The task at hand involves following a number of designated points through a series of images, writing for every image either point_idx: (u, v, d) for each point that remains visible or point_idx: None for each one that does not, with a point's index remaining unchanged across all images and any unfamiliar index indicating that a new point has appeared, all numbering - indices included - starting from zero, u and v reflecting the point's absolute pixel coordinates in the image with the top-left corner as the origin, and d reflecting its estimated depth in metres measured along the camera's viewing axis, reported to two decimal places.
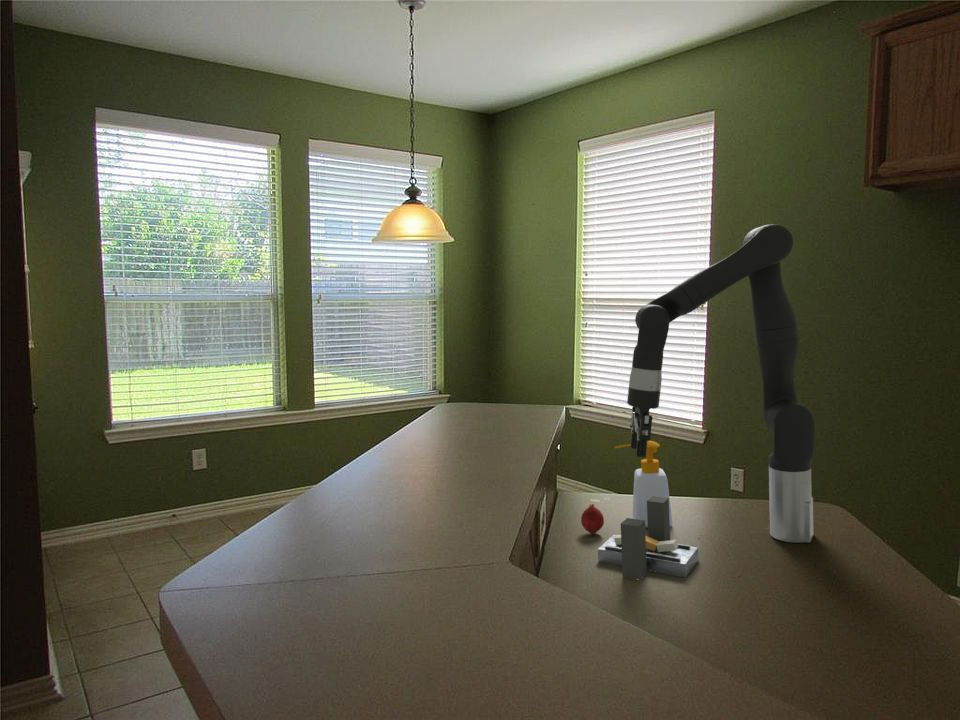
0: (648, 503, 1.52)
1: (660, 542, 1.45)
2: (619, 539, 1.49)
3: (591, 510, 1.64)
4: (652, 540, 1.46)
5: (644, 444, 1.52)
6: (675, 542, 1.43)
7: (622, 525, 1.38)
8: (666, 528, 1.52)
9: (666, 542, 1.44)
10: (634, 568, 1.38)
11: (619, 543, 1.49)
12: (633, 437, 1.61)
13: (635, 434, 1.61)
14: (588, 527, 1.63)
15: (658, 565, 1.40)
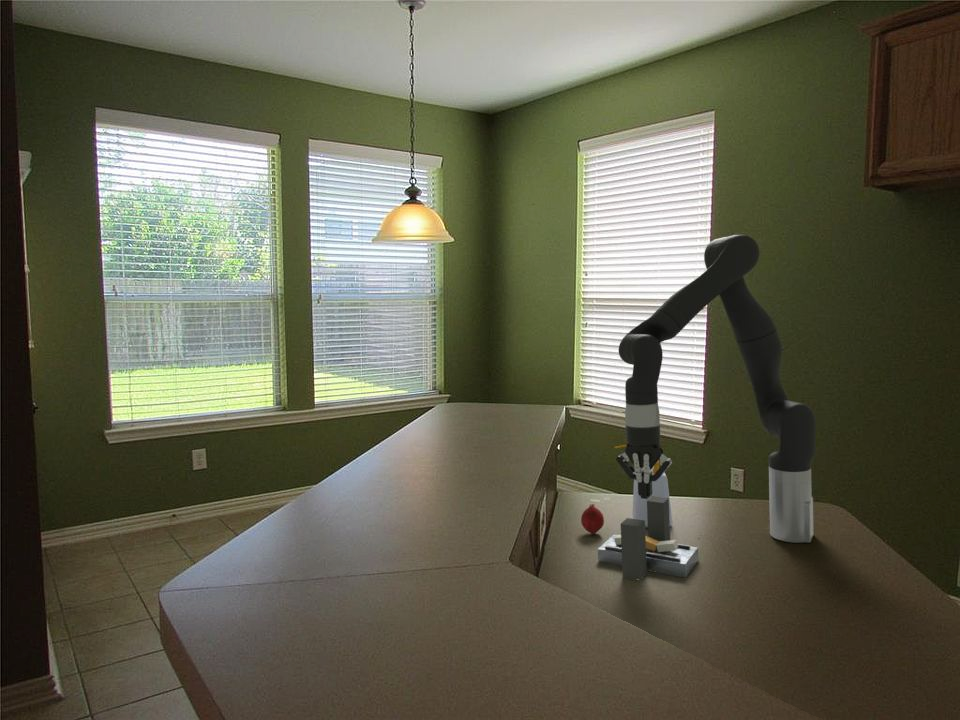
0: (648, 503, 1.52)
1: (660, 542, 1.45)
2: (619, 539, 1.49)
3: (591, 510, 1.64)
4: (652, 540, 1.46)
5: (651, 484, 1.45)
6: (675, 542, 1.43)
7: (622, 525, 1.38)
8: (666, 528, 1.52)
9: (666, 542, 1.44)
10: (634, 568, 1.38)
11: (619, 543, 1.49)
12: (643, 486, 1.45)
13: (644, 482, 1.45)
14: (588, 527, 1.63)
15: (658, 565, 1.40)
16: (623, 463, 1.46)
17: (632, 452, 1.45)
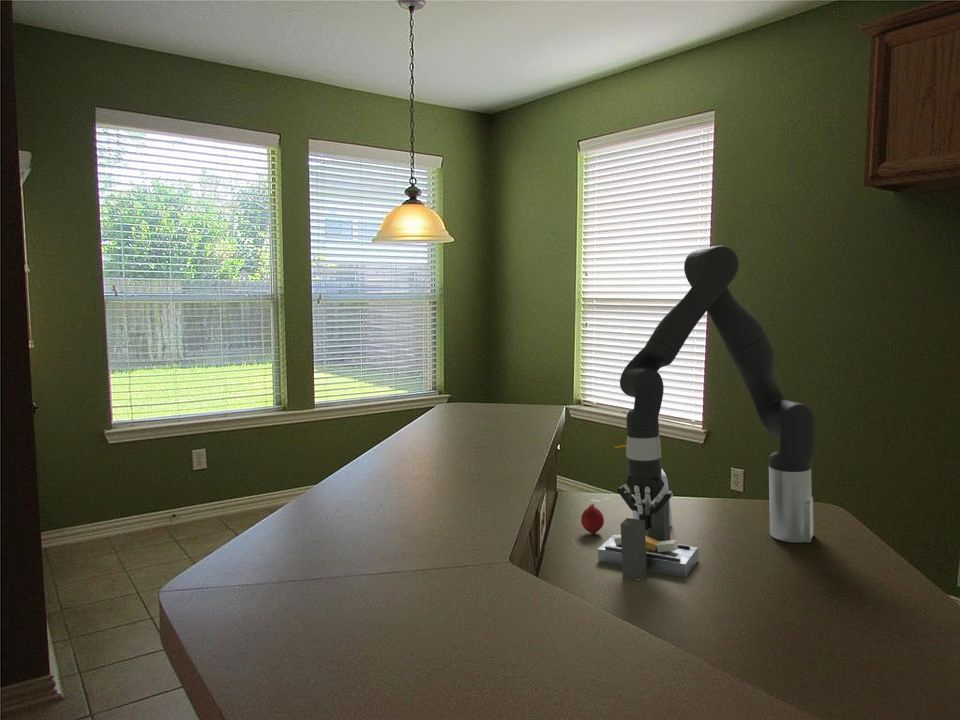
0: None
1: (660, 542, 1.45)
2: (619, 539, 1.49)
3: (591, 510, 1.64)
4: (652, 540, 1.46)
5: (652, 516, 1.46)
6: (675, 542, 1.43)
7: (622, 525, 1.38)
8: (666, 528, 1.52)
9: (666, 542, 1.44)
10: (634, 568, 1.38)
11: (619, 543, 1.49)
12: (645, 518, 1.45)
13: (645, 514, 1.46)
14: (588, 527, 1.63)
15: (658, 565, 1.40)
16: (624, 495, 1.47)
17: (633, 484, 1.46)
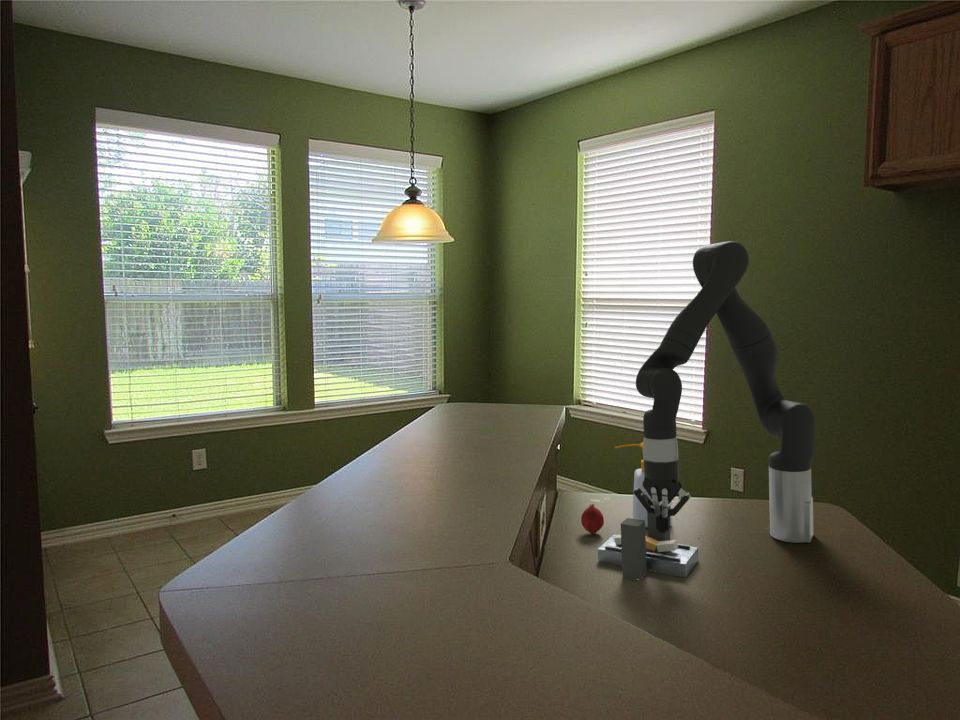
0: None
1: (660, 542, 1.45)
2: (619, 539, 1.49)
3: (591, 510, 1.64)
4: (652, 540, 1.46)
5: (669, 518, 1.43)
6: (675, 542, 1.43)
7: (622, 525, 1.38)
8: None
9: (666, 542, 1.44)
10: (634, 568, 1.38)
11: (619, 543, 1.49)
12: None
13: (662, 516, 1.44)
14: (588, 527, 1.63)
15: (658, 565, 1.40)
16: (641, 497, 1.45)
17: (650, 486, 1.43)
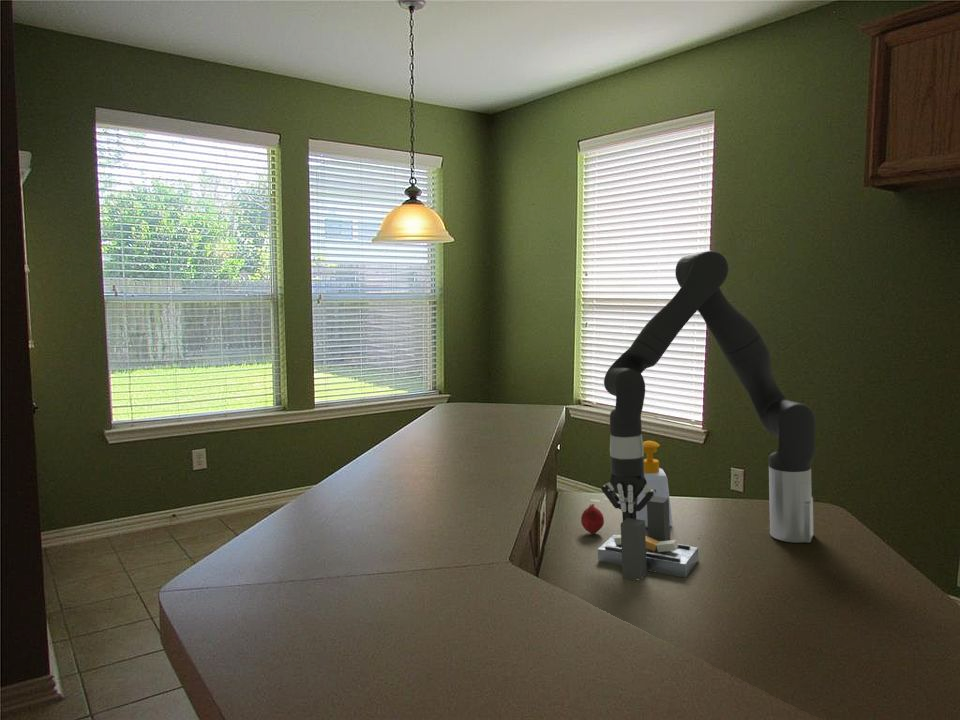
0: (648, 503, 1.52)
1: (660, 542, 1.45)
2: (619, 539, 1.49)
3: (591, 510, 1.64)
4: (652, 540, 1.46)
5: (635, 513, 1.48)
6: (675, 542, 1.43)
7: (622, 525, 1.38)
8: (666, 528, 1.52)
9: (666, 542, 1.44)
10: (634, 568, 1.38)
11: (619, 543, 1.49)
12: None
13: (628, 512, 1.48)
14: (588, 527, 1.63)
15: (658, 565, 1.40)
16: (608, 493, 1.49)
17: (617, 482, 1.48)
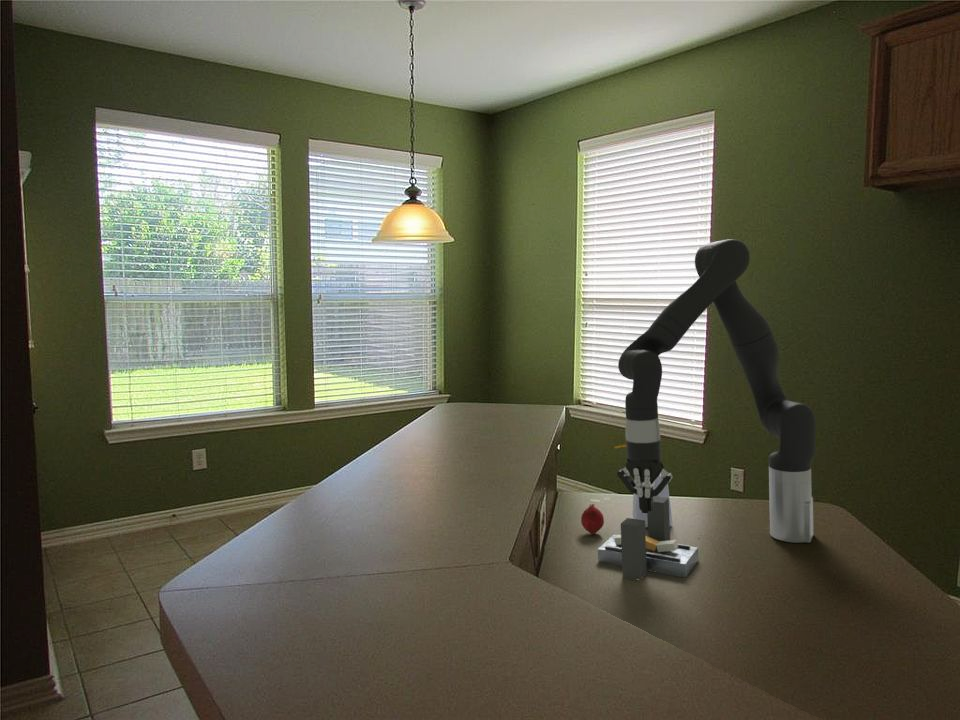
0: None
1: (660, 542, 1.45)
2: (619, 539, 1.49)
3: (591, 510, 1.64)
4: (652, 540, 1.46)
5: (652, 498, 1.45)
6: (675, 542, 1.43)
7: (622, 525, 1.38)
8: (666, 528, 1.52)
9: (666, 542, 1.44)
10: (634, 568, 1.38)
11: (619, 543, 1.49)
12: (644, 501, 1.45)
13: (645, 497, 1.45)
14: (588, 527, 1.63)
15: (658, 565, 1.40)
16: (624, 478, 1.47)
17: (633, 467, 1.45)
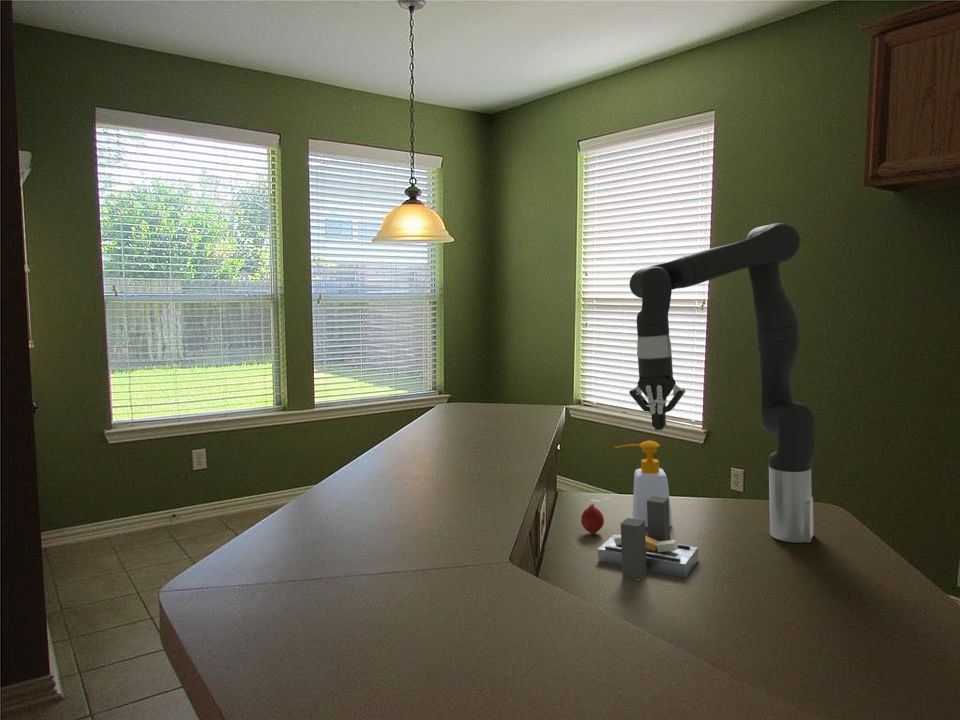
0: (648, 503, 1.52)
1: (660, 542, 1.45)
2: (619, 539, 1.49)
3: (591, 510, 1.64)
4: (652, 540, 1.46)
5: (664, 415, 1.48)
6: (675, 542, 1.43)
7: (622, 525, 1.38)
8: (666, 528, 1.52)
9: (666, 542, 1.44)
10: (634, 568, 1.38)
11: (619, 543, 1.49)
12: None
13: (657, 414, 1.48)
14: (588, 527, 1.63)
15: (658, 565, 1.40)
16: (636, 396, 1.49)
17: (645, 385, 1.48)
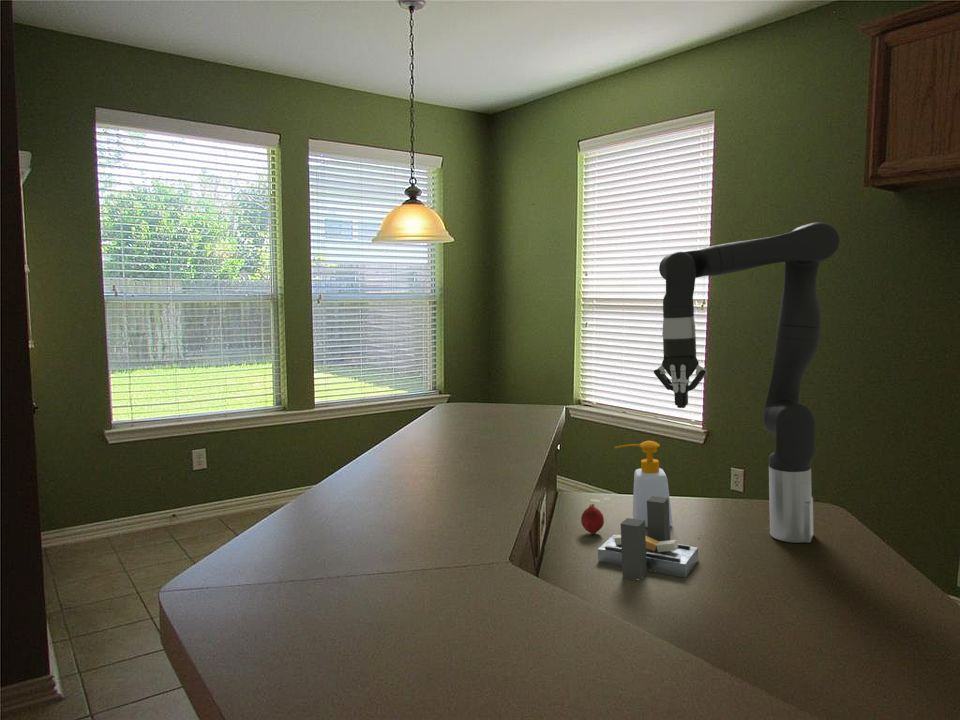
0: (648, 503, 1.52)
1: (660, 542, 1.45)
2: (619, 539, 1.49)
3: (591, 510, 1.64)
4: (652, 540, 1.46)
5: (687, 394, 1.55)
6: (675, 542, 1.43)
7: (622, 525, 1.38)
8: (666, 528, 1.52)
9: (666, 542, 1.44)
10: (634, 568, 1.38)
11: (619, 543, 1.49)
12: None
13: (680, 392, 1.55)
14: (588, 527, 1.63)
15: (658, 565, 1.40)
16: (660, 375, 1.56)
17: (669, 364, 1.55)
